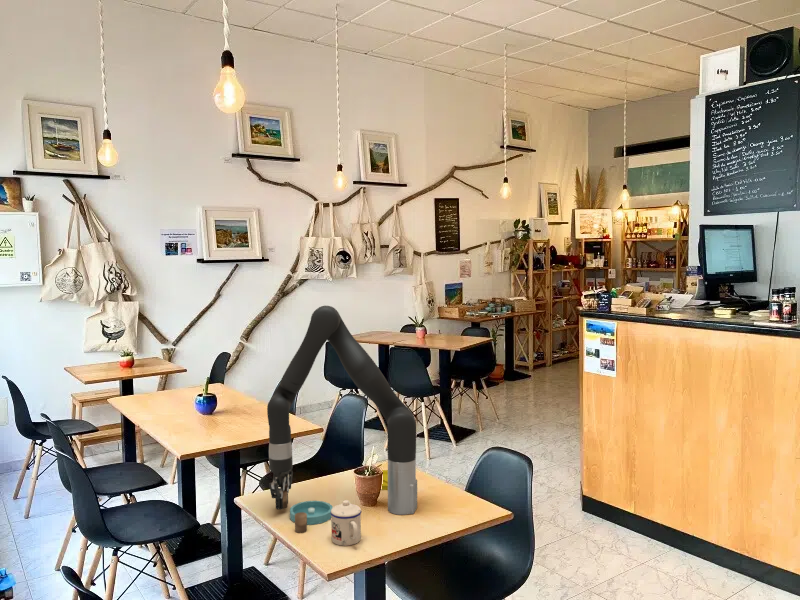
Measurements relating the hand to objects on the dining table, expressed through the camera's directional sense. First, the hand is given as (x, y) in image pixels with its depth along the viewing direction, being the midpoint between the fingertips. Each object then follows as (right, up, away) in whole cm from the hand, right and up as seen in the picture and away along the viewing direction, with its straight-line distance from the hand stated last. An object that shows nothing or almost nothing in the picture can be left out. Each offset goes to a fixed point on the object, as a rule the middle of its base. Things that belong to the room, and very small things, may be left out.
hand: (282, 506), depth 210 cm
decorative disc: (+33, 0, +28) cm, 43 cm away
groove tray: (+10, -2, -3) cm, 11 cm away
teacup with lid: (+23, -3, -22) cm, 32 cm away
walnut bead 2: (+8, -3, -14) cm, 17 cm away
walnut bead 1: (0, 0, 0) cm, 0 cm away
